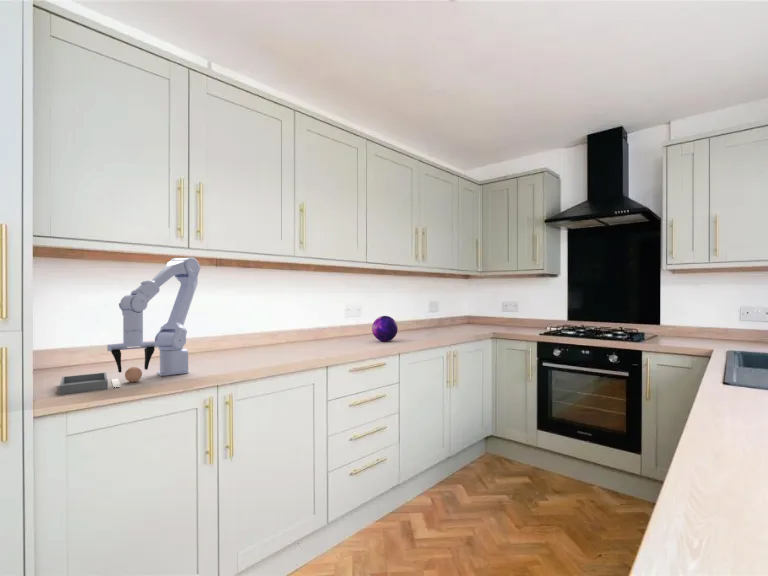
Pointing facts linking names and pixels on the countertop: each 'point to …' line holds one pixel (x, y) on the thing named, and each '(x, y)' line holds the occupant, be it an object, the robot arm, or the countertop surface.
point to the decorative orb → (384, 328)
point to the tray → (83, 383)
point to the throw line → (115, 383)
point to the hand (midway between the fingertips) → (133, 370)
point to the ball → (133, 374)
